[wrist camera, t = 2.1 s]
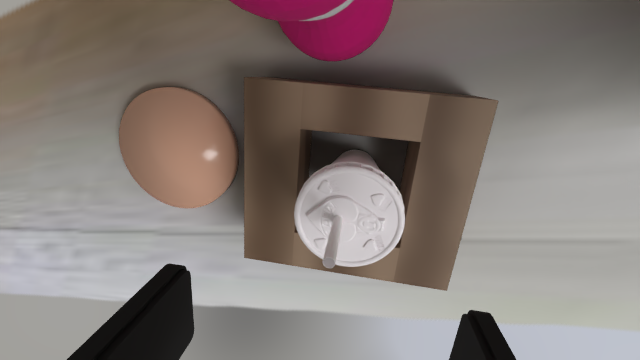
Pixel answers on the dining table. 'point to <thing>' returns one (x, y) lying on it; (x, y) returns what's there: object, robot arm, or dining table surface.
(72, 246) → the dining table surface
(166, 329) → the robot arm
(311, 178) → the smoothie
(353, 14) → the pepper mill
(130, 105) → the tan round disc
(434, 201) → the bottle holder
